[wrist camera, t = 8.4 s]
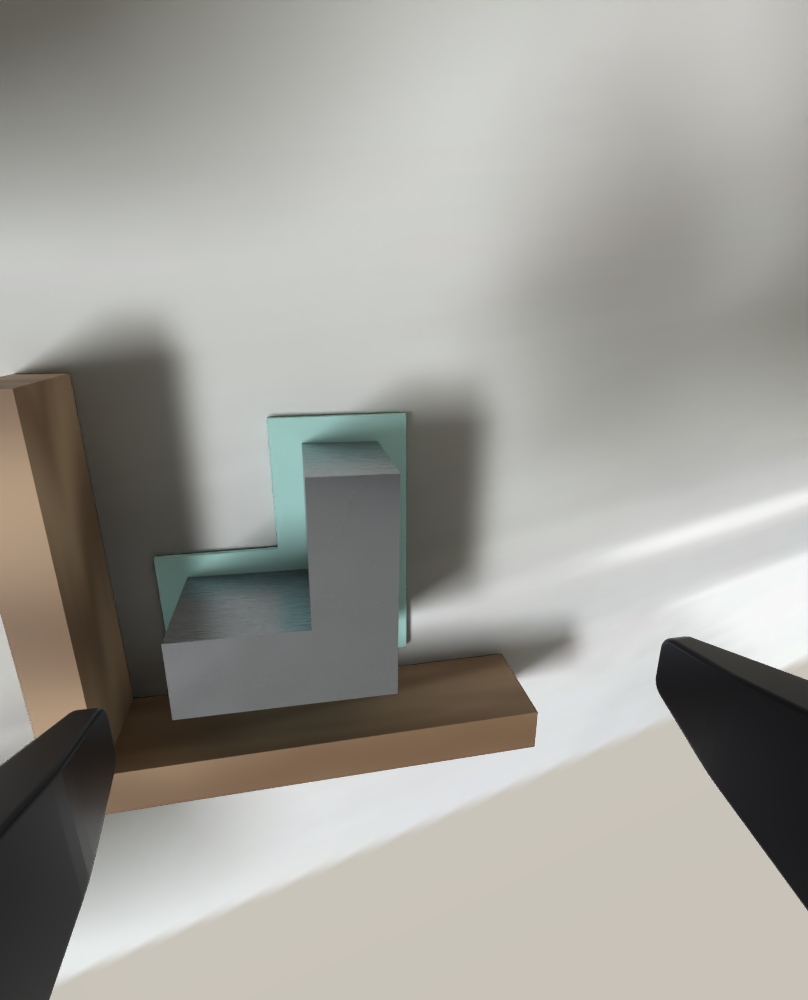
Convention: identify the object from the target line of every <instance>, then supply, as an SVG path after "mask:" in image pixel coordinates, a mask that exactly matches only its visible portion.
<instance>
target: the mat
mask: <svg viewBox="0 0 808 1000" xmlns="http://www.w3.org/2000/svg"><path fill="white" fill-rule="evenodd" d="M267 426H268V438H269V450H270V462H271V474H272V486H273V498H274V510H275V522H276V534H277V546H278V547H269V548H257V549H244V550H231V551H218V552H206V553H193V554H180V555H167V556H155V557H154V565H155V571H156V577H157V583H158V589H159V595H160V601H161V607H162V613H163V619H164V625H165V631H167V628H168V625H169V623H170V620H171V618H172V615H173V613H174V610H175V608H176V605H177V602H178V600H179V597H180V595H181V592H182V590H183V587H184V584H185V582H186V579H187V577H200V576H214V575H227V574H241V573H255V572H269V571H282V570H296V569H308V568H307V547H306V526H305V505H304V484H303V463H302V443H321V442H355V441H378V442H379V443H380V445H381V446H382V448H383V449H384V451H385V452H386V453H387V455H388V456H389V458H390V459H391V461H392V462H393V464H394V465H395V467H396V468H397V469H398V471H399V472H400V546H399V628H398V648H400V647H406V413H383V414H354V415H326V416H298V417H270V418H267Z"/></svg>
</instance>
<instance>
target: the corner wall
mask: <svg viewBox="0 0 808 1000" xmlns="http://www.w3.org/2000/svg"><path fill="white" fill-rule="evenodd" d="M0 614H1V617H2V621H3V624H4V628H5V632H6V635H7V639H8V643H9V646H10V650H11V653H12V657H13V661H14V664H15V668H16V672H17V675H18V679H19V682H20V686H21V690H22V693H23V697H24V700H25V704H26V708H27V711H28V715H29V719H30V722H31V726H32V729H33V733H34V737H35V739H36V738H37V737H39V736H40V735H41V734H42V733H44V732H45V731H46V730H48V729H49V728H50V727H52V726H53V725H54V724H56V723H57V722H58V721H60V720H61V719H62V718H63V717H65V716H66V715H67V714H69V713H70V712H72V711H75V710H81V709H90V708H98V707H100V708H103V709H104V710H105V711H106V713H107V715H108V718H109V723H110V728H111V732H112V737H113V742H114V746H115V751H116V767H115V773H114V777H113V781H112V786H111V790H110V795H109V799H108V803H107V808H106V812H105V814H111V813H117V812H123V811H130V810H136V809H142V808H149V807H155V806H161V805H168V804H174V803H180V802H187V801H193V800H199V799H206V798H212V797H218V796H225V795H231V794H237V793H244V792H250V791H256V790H263V789H269V788H275V787H282V786H288V785H294V784H301V783H307V782H313V781H320V780H326V779H332V778H339V777H345V776H351V775H358V774H364V773H370V772H377V771H383V770H389V769H396V768H402V767H408V766H415V765H421V764H427V763H434V762H440V761H446V760H453V759H459V758H465V757H472V756H478V755H484V754H491V753H497V752H503V751H510V750H516V749H522V748H529V747H534V746H535V735H536V725H537V714H538V712H537V710H536V709H535V707H534V705H533V704H532V702H531V701H530V699H529V697H528V696H527V694H526V693H525V691H524V689H523V688H522V686H521V685H520V683H519V681H518V680H517V678H516V677H515V675H514V673H513V672H512V670H511V668H510V667H509V665H508V664H507V662H506V660H505V659H504V657H503V656H502V654H496V655H488V656H480V657H471V658H463V659H455V660H447V661H439V662H431V663H423V664H414V665H406V666H398V693H397V694H389V695H381V696H372V697H364V698H355V699H347V700H339V701H330V702H322V703H313V704H305V705H297V706H288V707H280V708H271V709H263V710H255V711H246V712H238V713H229V714H221V715H213V716H204V717H196V718H187V719H179V720H172V713H171V707H170V700H169V695H162V696H154V697H146V698H138V699H133V694H132V689H131V684H130V678H129V673H128V668H127V663H126V658H125V653H124V648H123V643H122V638H121V633H120V628H119V623H118V618H117V612H116V607H115V602H114V597H113V592H112V587H111V582H110V577H109V572H108V567H107V562H106V557H105V552H104V547H103V541H102V536H101V531H100V526H99V521H98V516H97V511H96V506H95V501H94V496H93V491H92V486H91V481H90V475H89V470H88V465H87V460H86V455H85V450H84V445H83V440H82V435H81V430H80V425H79V420H78V415H77V410H76V404H75V399H74V394H73V389H72V384H71V379H70V374H69V373H59V374H12V375H7V376H3V377H0Z"/></svg>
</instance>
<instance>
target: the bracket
mask: <svg viewBox="0 0 808 1000" xmlns="http://www.w3.org/2000/svg"><path fill="white" fill-rule="evenodd" d="M302 463H303V484H304V505H305V526H306V547H307V568H308V569H296V570H282V571H269V572H255V573H241V574H227V575H214V576H200V577H187V579H186V582H185V584H184V587H183V590H182V592H181V595H180V597H179V600H178V602H177V605H176V608H175V610H174V613H173V615H172V618H171V620H170V623H169V625H168V628H167V631H166V633H165V636H164V638H163V641H162V643H161V647H162V654H163V660H164V667H165V674H166V680H167V687H168V694H169V700H170V707H171V713H172V720H179V719H187V718H196V717H204V716H213V715H221V714H229V713H238V712H246V711H255V710H263V709H271V708H280V707H288V706H297V705H305V704H313V703H322V702H330V701H339V700H347V699H355V698H364V697H372V696H381V695H389V694H397V693H398V628H399V546H400V472H399V471H398V469H397V468H396V467H395V465H394V464H393V462H392V461H391V459H390V458H389V456H388V455H387V453H386V452H385V451H384V449H383V448H382V446H381V445H380V443H379V442H378V441H355V442H321V443H302Z"/></svg>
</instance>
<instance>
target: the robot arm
mask: <svg viewBox="0 0 808 1000" xmlns="http://www.w3.org/2000/svg"><path fill="white" fill-rule="evenodd" d="M656 685H657V689H658V692H659V694H660V696H661V697H662V699H663V701H664V702H665V704H666V706H667V707H668V709H669V711H670V712H671V714H672V716H673V717H674V719H675V721H676V722H677V724H678V725H679V727H680V729H681V730H682V732H683V734H684V735H685V737H686V739H687V740H688V742H689V744H690V745H691V747H692V749H693V750H694V752H695V754H696V755H697V757H698V758H699V760H700V761H701V763H702V765H703V766H704V768H705V770H706V771H707V773H708V774H709V776H710V777H711V779H712V780H713V781H714V783H715V784H716V786H717V787H718V788H719V790H720V791H721V792H722V794H723V795H724V797H725V798H726V799H727V801H728V802H729V804H730V805H731V806H732V808H733V809H734V810H735V812H736V813H737V815H738V816H739V817H740V819H741V820H742V821H743V823H744V824H745V825H746V827H747V828H748V830H749V831H750V832H751V834H752V835H753V836H754V838H755V839H756V841H757V842H758V843H759V845H760V846H761V847H762V849H763V850H764V851H765V853H766V854H767V856H768V857H769V858H770V860H771V861H772V862H773V864H774V865H775V866H776V868H777V869H778V871H779V872H780V873H781V875H782V876H783V877H784V879H785V880H786V881H787V883H788V884H789V886H790V887H791V888H792V890H793V891H794V892H795V894H796V895H797V897H798V898H799V899H800V901H801V902H802V903H803V905H804V906H805V908H806V909H807V910H808V680H806V679H803V678H800V677H798V676H795V675H792V674H790V673H787V672H784V671H781V670H779V669H776V668H773V667H771V666H768V665H765V664H762V663H760V662H757V661H754V660H751V659H749V658H746V657H743V656H741V655H738V654H735V653H732V652H730V651H727V650H724V649H722V648H719V647H716V646H713V645H711V644H708V643H705V642H702V641H700V640H697V639H694V638H692V637H677V638H669V639H667V640H665V641H664V642H663V644H662V646H661V651H660V657H659V662H658V668H657V674H656ZM115 767H116V751H115V746H114V742H113V737H112V732H111V728H110V723H109V718H108V715H107V713H106V711H105V710H104V709H103V708H100V707H98V708H90V709H81V710H75V711H72V712H70V713H69V714H67V715H66V716H65V717H63V718H62V719H61V720H60V721H58V722H57V723H56V724H54V725H53V726H52V727H50V728H49V729H48V730H46V731H45V732H44V733H42V734H41V735H40V736H39V737H37V738H36V739H35V740H33V741H32V742H31V743H29V744H28V745H27V746H25V747H24V748H23V749H22V750H20V751H19V752H18V753H16V754H15V755H14V756H12V757H11V758H10V759H8V760H7V761H6V762H5V763H3V764H2V765H1V766H0V1000H49V999H50V996H51V993H52V990H53V987H54V984H55V981H56V978H57V975H58V972H59V969H60V967H61V964H62V961H63V958H64V955H65V952H66V949H67V946H68V943H69V940H70V937H71V934H72V931H73V928H74V926H75V923H76V920H77V917H78V914H79V911H80V908H81V905H82V902H83V899H84V896H85V893H86V890H87V886H88V883H89V880H90V876H91V872H92V868H93V864H94V860H95V856H96V851H97V847H98V843H99V838H100V834H101V830H102V825H103V821H104V816H105V812H106V808H107V803H108V799H109V795H110V790H111V786H112V781H113V777H114V773H115Z"/></svg>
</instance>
